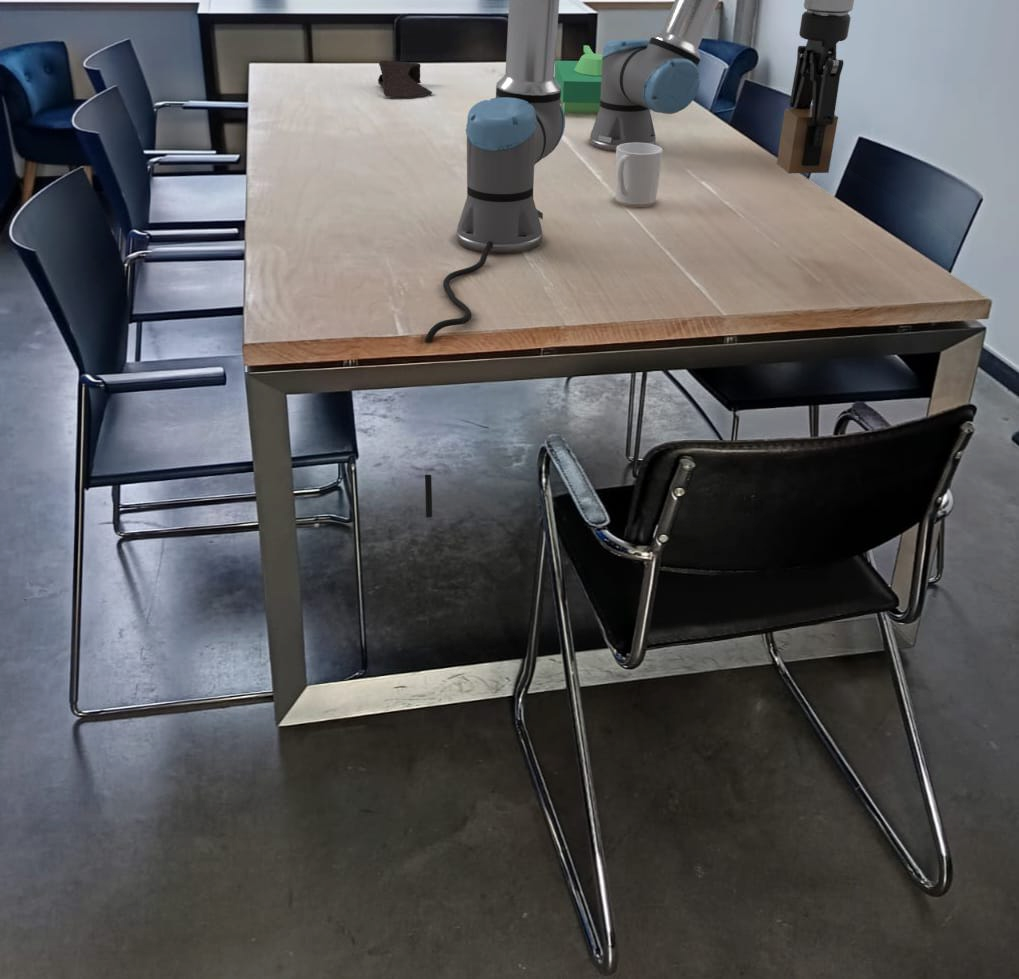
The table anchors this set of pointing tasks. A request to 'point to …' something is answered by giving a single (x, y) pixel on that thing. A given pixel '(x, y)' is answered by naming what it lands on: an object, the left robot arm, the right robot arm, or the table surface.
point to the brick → (802, 142)
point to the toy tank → (580, 83)
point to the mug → (637, 174)
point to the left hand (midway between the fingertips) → (803, 159)
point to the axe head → (401, 79)
